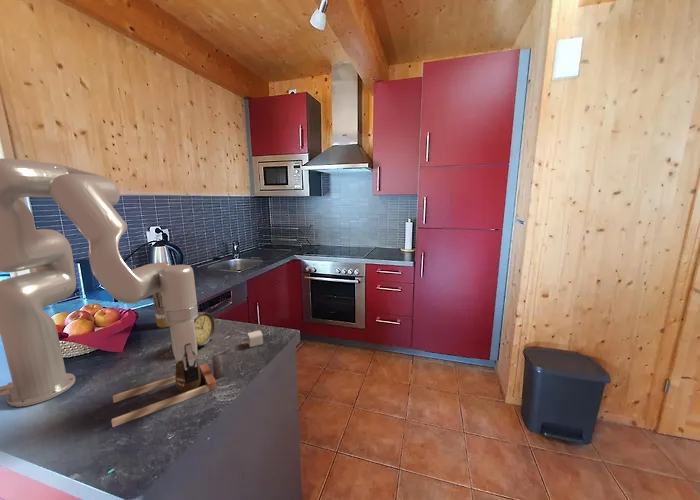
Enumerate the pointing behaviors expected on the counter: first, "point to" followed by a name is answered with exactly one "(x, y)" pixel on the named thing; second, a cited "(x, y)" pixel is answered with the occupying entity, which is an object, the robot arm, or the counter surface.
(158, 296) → the paper tube
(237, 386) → the counter surface
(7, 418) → the counter surface
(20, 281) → the robot arm
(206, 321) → the alarm clock
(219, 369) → the guide channel
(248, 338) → the usb wall charger
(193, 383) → the utensil holder
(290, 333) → the counter surface
